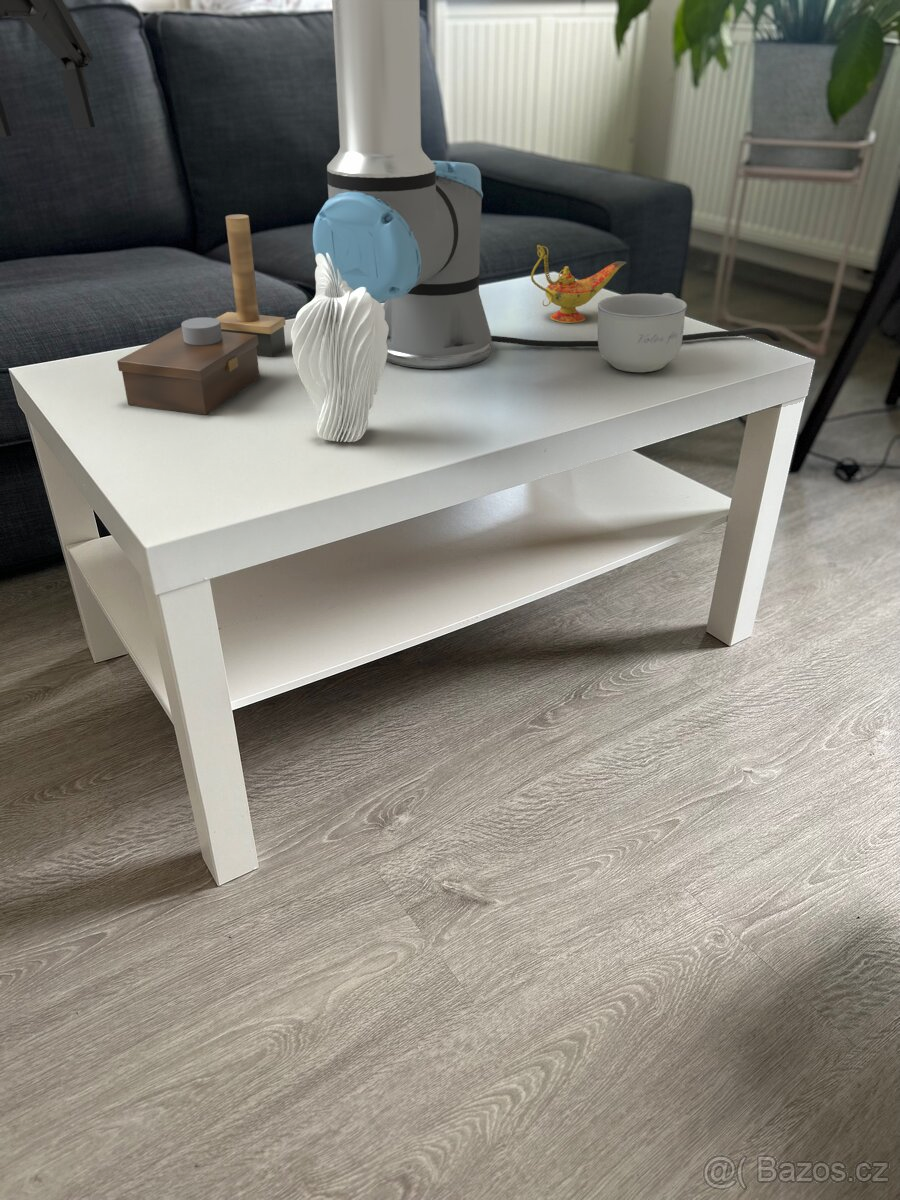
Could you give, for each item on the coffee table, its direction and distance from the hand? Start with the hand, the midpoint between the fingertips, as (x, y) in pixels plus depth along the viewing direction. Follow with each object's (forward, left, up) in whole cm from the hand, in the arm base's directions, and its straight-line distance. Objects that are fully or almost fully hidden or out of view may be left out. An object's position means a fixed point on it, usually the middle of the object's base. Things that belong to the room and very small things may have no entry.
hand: (45, 133), depth 112 cm
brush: (-23, -3, -25) cm, 34 cm away
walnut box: (-24, +13, -25) cm, 37 cm away
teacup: (-73, -14, -25) cm, 79 cm away
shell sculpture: (-46, +20, -25) cm, 57 cm away
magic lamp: (-61, -32, -25) cm, 74 cm away
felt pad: (-24, +10, -20) cm, 33 cm away
